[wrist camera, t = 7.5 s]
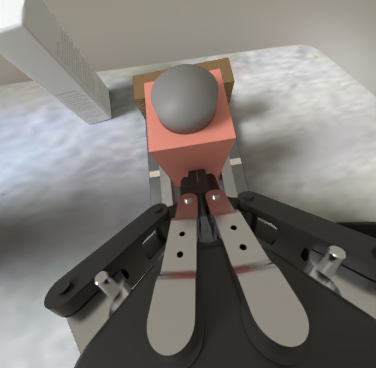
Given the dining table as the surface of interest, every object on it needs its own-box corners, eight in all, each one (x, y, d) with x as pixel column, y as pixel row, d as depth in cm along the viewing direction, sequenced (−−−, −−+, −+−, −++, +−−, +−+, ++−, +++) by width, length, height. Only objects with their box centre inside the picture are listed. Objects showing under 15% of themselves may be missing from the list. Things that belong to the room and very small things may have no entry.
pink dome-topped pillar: (216, 181, 18) (242, 124, 7) (177, 187, 18) (140, 141, 7) (210, 145, 19) (222, 46, 8) (173, 151, 19) (136, 64, 8)
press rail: (265, 285, 16) (319, 341, 9) (161, 295, 17) (131, 356, 9) (222, 96, 22) (233, 37, 15) (147, 109, 23) (123, 60, 16)
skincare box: (86, 96, 25) (-16, -11, 13) (109, 90, 25) (27, -24, 13) (87, 126, 23) (-26, 35, 12) (112, 119, 23) (23, 21, 12)
